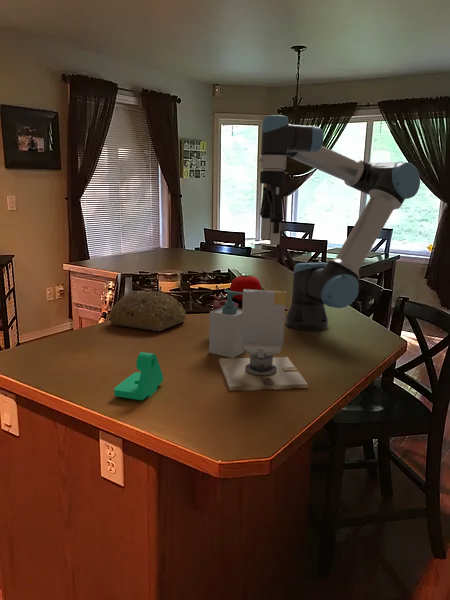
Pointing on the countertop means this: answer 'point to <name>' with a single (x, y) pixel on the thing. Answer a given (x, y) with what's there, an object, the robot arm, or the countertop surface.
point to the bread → (147, 311)
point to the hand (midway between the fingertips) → (269, 241)
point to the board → (242, 380)
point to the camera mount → (141, 379)
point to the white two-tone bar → (263, 322)
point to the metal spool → (261, 366)
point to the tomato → (244, 285)
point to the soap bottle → (226, 329)
